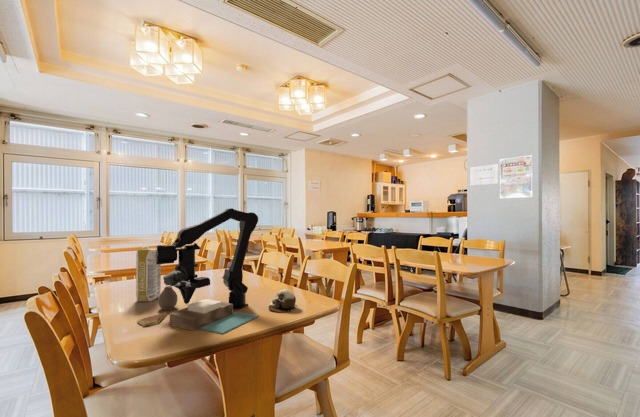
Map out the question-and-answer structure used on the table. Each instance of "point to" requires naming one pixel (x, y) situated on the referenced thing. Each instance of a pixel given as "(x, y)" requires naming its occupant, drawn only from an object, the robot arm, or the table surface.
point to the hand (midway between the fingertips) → (186, 303)
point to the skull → (283, 301)
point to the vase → (168, 298)
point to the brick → (199, 317)
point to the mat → (229, 322)
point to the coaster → (204, 306)
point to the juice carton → (147, 275)
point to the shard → (151, 319)
